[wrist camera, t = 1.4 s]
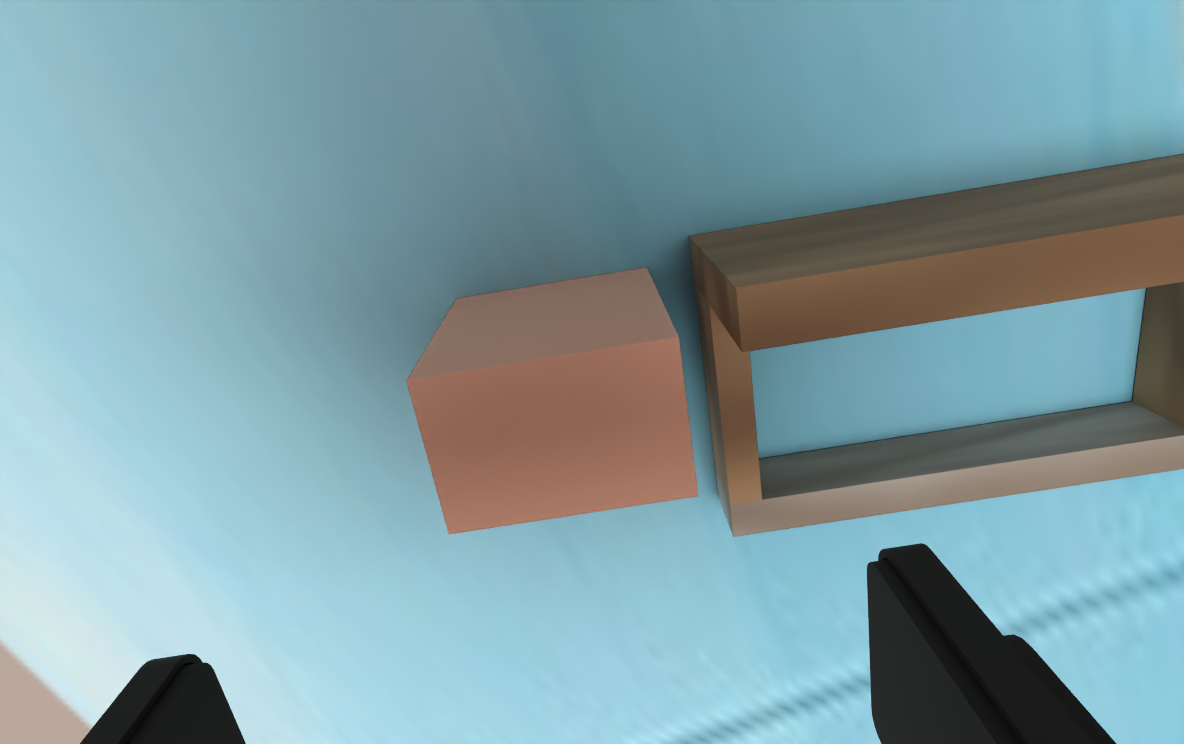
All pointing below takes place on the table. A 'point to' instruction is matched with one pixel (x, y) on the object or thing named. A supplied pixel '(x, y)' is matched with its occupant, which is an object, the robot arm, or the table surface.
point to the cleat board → (933, 293)
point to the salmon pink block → (554, 402)
